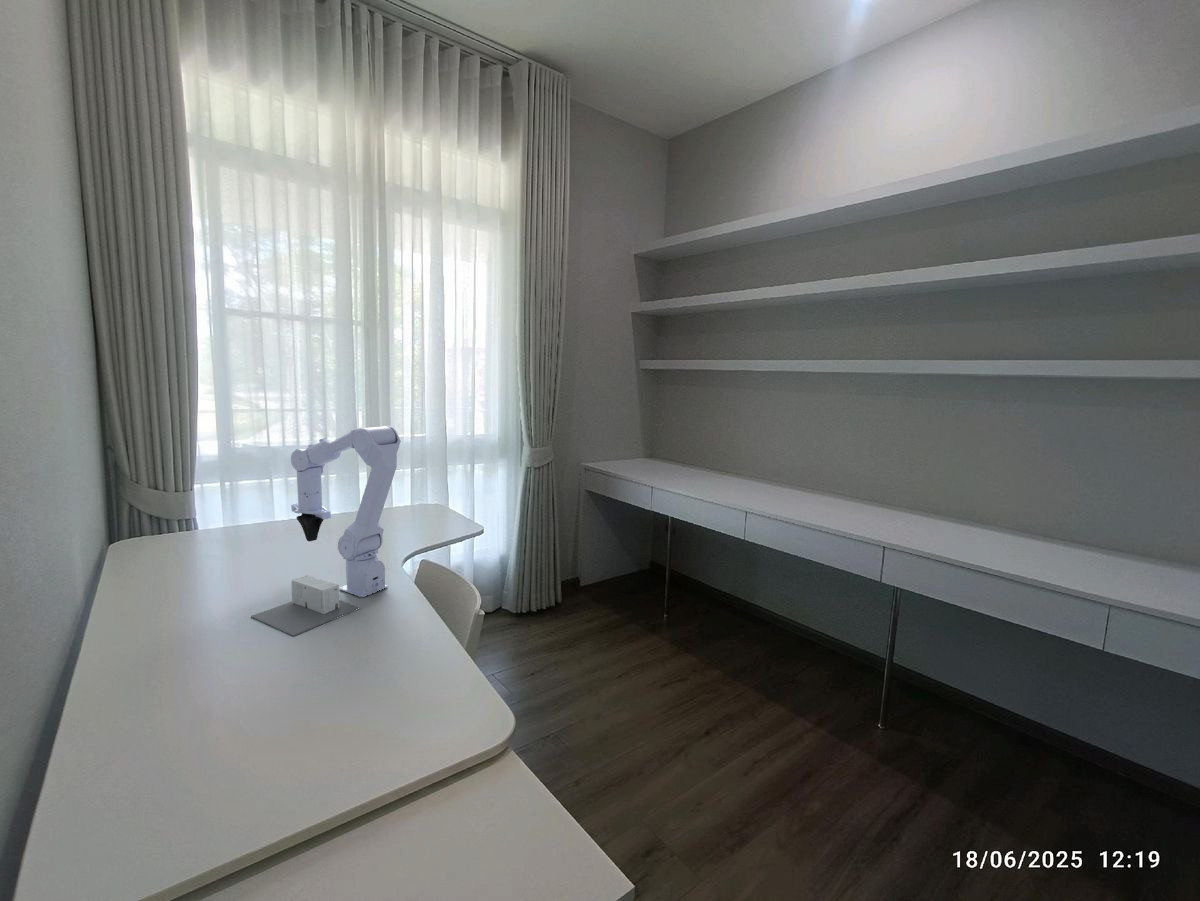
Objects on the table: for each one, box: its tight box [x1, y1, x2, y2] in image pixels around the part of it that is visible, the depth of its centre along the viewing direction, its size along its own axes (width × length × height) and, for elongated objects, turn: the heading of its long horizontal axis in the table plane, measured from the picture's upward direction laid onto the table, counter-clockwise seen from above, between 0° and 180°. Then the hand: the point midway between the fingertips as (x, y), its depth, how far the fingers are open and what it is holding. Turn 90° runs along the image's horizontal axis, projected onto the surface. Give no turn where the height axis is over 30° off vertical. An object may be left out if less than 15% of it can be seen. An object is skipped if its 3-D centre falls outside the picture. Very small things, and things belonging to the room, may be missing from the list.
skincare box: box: [291, 574, 341, 614], centre depth 123 cm, size 6×4×12 cm
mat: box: [250, 599, 360, 637], centre depth 120 cm, size 16×16×1 cm
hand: (311, 540), depth 140 cm, fingers closed
